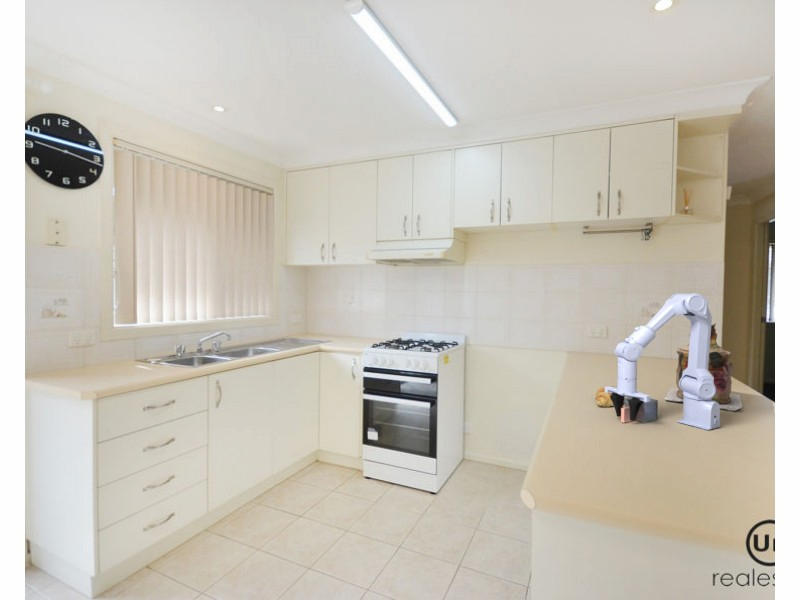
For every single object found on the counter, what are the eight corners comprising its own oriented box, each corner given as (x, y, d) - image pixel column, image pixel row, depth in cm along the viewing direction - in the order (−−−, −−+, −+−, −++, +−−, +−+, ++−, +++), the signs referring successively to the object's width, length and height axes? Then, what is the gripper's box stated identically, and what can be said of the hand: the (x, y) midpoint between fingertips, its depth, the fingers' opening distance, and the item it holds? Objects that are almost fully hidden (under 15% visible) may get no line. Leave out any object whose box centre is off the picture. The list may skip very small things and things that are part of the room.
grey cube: (657, 419, 139) (657, 400, 139) (643, 423, 135) (644, 403, 135) (637, 414, 145) (638, 395, 145) (624, 417, 141) (624, 398, 141)
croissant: (607, 419, 151) (618, 402, 148) (583, 401, 157) (593, 385, 154) (625, 406, 166) (635, 391, 163) (602, 391, 172) (612, 376, 169)
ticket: (646, 417, 141) (646, 403, 141) (623, 422, 135) (624, 408, 135) (643, 416, 142) (643, 403, 142) (620, 422, 136) (621, 407, 135)
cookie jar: (670, 390, 182) (671, 319, 181) (741, 400, 166) (743, 323, 166) (663, 401, 163) (665, 322, 162) (743, 413, 147) (745, 326, 147)
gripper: (599, 375, 140) (598, 413, 141) (641, 383, 127) (640, 426, 128) (612, 373, 144) (611, 411, 144) (654, 381, 131) (653, 422, 131)
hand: (626, 418), depth 136 cm, fingers open, 4 cm apart
